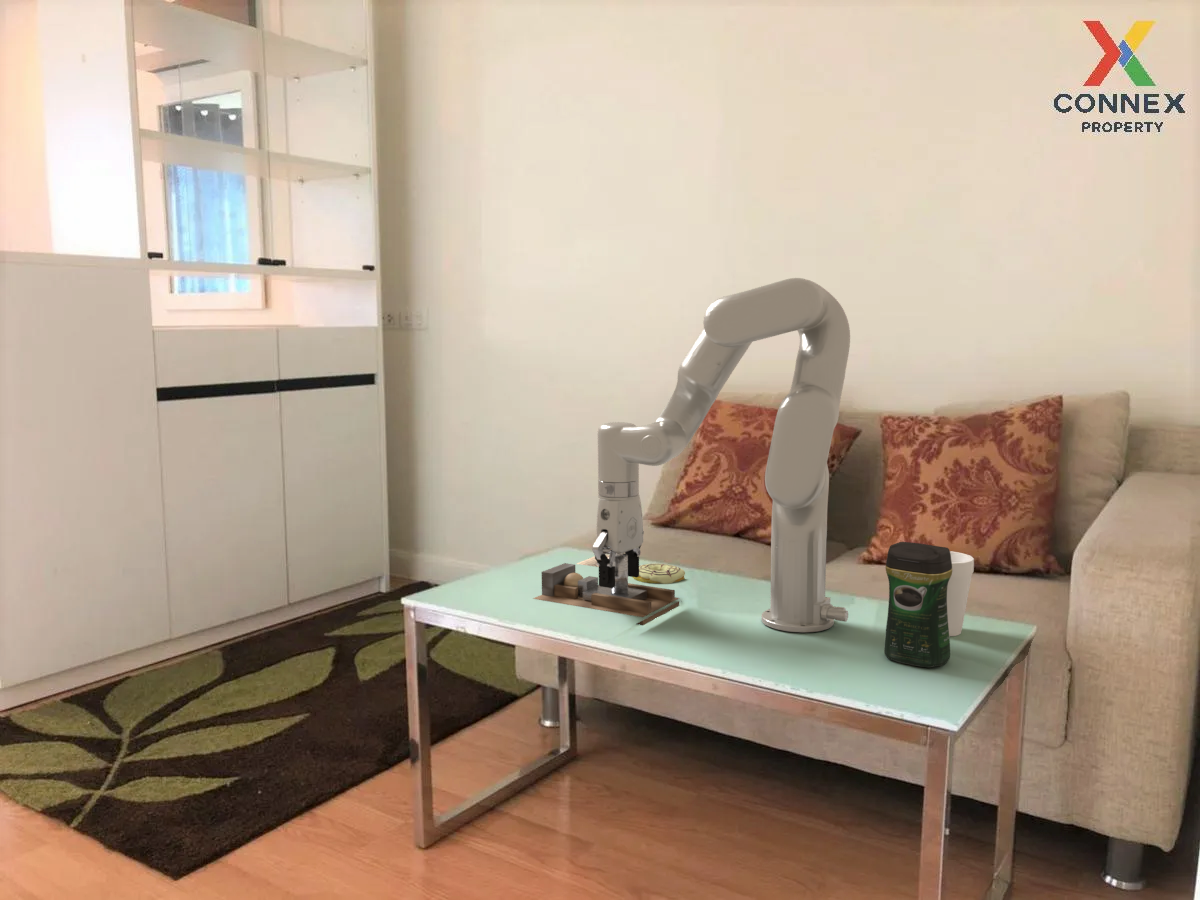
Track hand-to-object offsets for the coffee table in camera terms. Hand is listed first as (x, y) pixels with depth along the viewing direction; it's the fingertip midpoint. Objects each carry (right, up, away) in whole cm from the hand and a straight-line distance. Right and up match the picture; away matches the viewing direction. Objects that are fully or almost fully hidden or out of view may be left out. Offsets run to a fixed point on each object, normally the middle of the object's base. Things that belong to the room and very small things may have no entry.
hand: (619, 581), depth 183 cm
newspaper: (-8, -3, +29) cm, 30 cm away
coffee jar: (+46, -9, -29) cm, 55 cm away
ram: (-2, -3, +1) cm, 4 cm away
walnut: (-9, -3, +6) cm, 11 cm away
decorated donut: (+8, -3, +18) cm, 20 cm away
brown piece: (-3, -5, +2) cm, 6 cm away
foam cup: (+55, -7, -15) cm, 58 cm away
